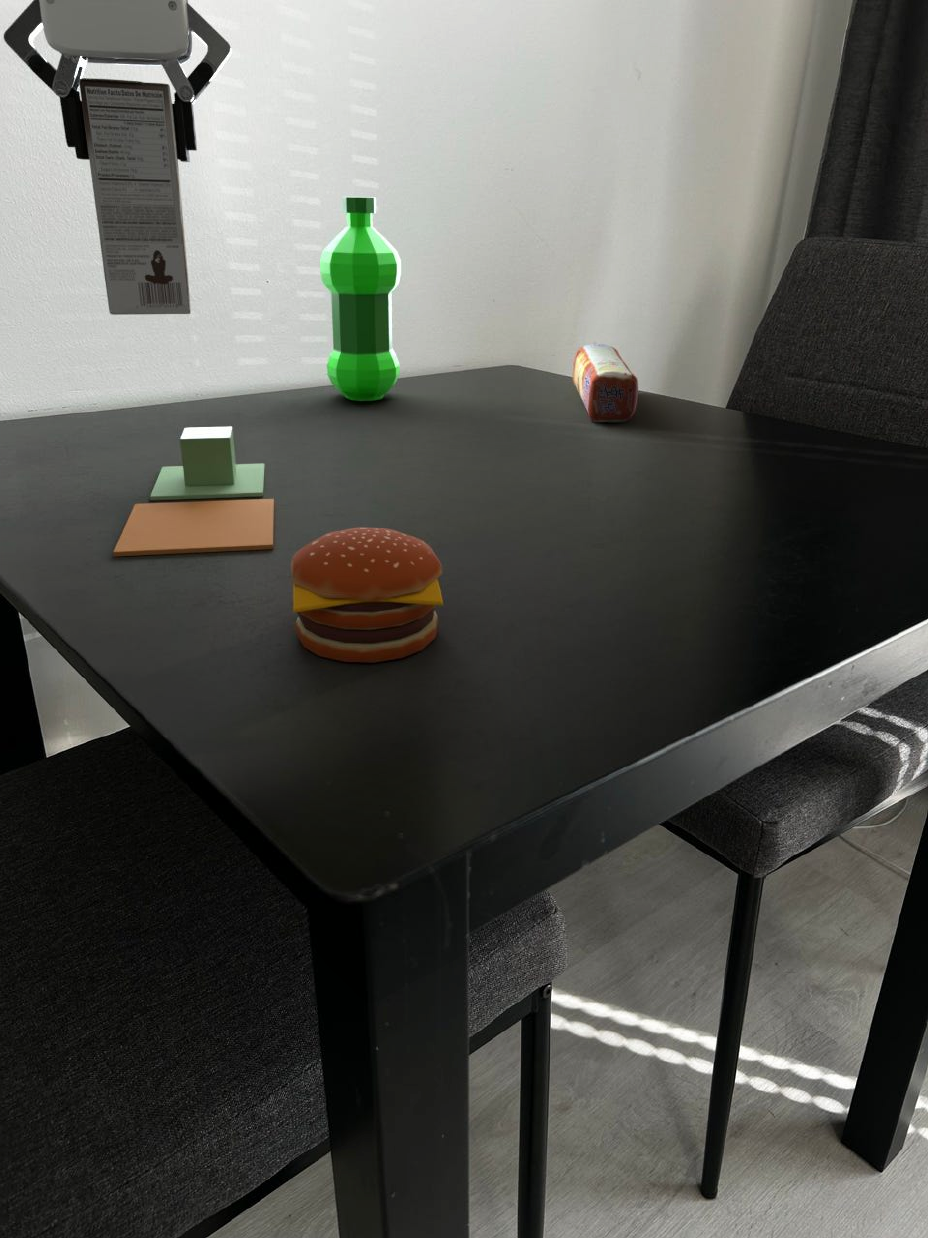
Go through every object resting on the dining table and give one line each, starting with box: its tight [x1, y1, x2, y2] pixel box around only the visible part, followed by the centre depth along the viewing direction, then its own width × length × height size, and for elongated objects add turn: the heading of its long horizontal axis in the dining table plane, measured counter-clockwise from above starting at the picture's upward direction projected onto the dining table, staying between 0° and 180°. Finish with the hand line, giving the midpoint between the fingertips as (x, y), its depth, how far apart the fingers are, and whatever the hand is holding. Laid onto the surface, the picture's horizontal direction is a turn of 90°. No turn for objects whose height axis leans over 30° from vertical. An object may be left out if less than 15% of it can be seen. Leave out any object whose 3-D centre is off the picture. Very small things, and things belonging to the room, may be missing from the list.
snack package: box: [572, 343, 639, 423], centre depth 121 cm, size 21×7×7 cm, turn 178°
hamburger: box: [290, 526, 444, 664], centre depth 57 cm, size 9×10×7 cm
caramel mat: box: [112, 498, 275, 557], centre depth 76 cm, size 12×12×1 cm
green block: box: [179, 426, 237, 486], centre depth 87 cm, size 4×4×4 cm
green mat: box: [149, 463, 265, 501], centre depth 88 cm, size 10×10×1 cm
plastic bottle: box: [319, 196, 402, 402], centre depth 120 cm, size 10×10×25 cm
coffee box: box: [79, 77, 192, 316], centre depth 72 cm, size 9×6×16 cm
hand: (134, 157), depth 71 cm, fingers closed on coffee box, 6 cm apart
